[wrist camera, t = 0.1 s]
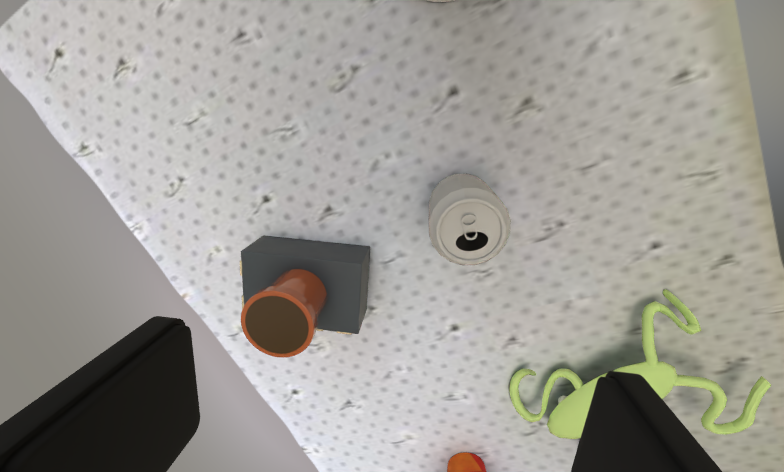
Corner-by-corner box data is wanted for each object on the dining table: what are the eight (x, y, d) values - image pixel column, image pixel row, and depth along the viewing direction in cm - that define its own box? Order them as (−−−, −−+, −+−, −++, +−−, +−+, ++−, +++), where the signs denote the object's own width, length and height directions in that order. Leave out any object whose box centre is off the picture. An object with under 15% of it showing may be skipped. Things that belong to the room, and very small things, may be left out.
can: (434, 238, 46) (436, 278, 34) (423, 179, 44) (421, 199, 32) (496, 228, 44) (519, 265, 33) (488, 166, 42) (509, 183, 31)
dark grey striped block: (260, 235, 48) (238, 250, 42) (370, 246, 47) (362, 263, 41) (263, 299, 51) (242, 322, 45) (366, 311, 50) (358, 336, 44)
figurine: (754, 383, 47) (796, 417, 42) (564, 466, 54) (579, 504, 49) (688, 274, 44) (724, 295, 38) (494, 377, 51) (502, 407, 45)
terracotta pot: (268, 260, 42) (238, 287, 35) (332, 267, 41) (313, 295, 35) (270, 317, 44) (242, 353, 38) (331, 325, 44) (313, 362, 37)
